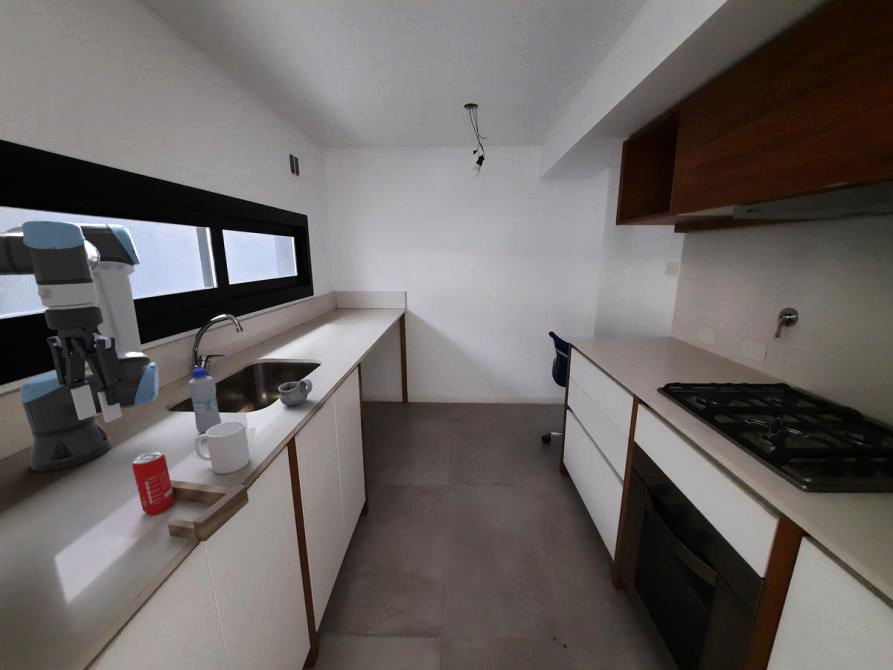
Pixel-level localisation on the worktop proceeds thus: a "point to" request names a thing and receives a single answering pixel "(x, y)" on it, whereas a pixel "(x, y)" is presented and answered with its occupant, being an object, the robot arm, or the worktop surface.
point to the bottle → (204, 400)
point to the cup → (225, 447)
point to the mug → (295, 392)
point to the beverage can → (153, 482)
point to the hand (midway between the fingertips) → (100, 417)
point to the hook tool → (214, 517)
